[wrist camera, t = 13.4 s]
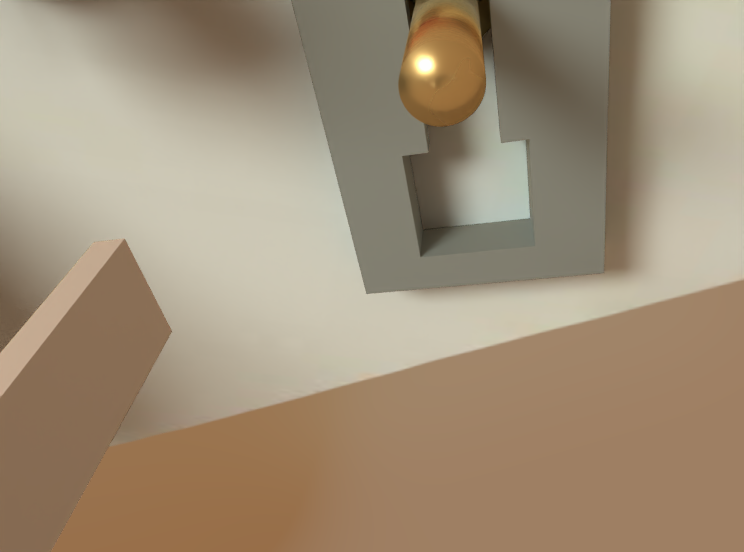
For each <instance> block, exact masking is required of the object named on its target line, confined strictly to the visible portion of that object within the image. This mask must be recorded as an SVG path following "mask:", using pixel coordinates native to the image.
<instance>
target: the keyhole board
mask: <svg viewBox="0 0 744 552" xmlns="http://www.w3.org/2000/svg"><path fill="white" fill-rule="evenodd" d="M291 1H292V5H293V8H294V12H295V16H296V20H297V24H298V28H299V32H300V36H301V40H302V44H303V48H304V51H305V55H306V59H307V63H308V67H309V71H310V75H311V79H312V83H313V87H314V90H315V94H316V98H317V102H318V106H319V110H320V114H321V118H322V122H323V126H324V130H325V133H326V137H327V141H328V145H329V149H330V153H331V157H332V161H333V165H334V169H335V173H336V176H337V180H338V184H339V188H340V192H341V196H342V200H343V204H344V208H345V212H346V215H347V219H348V223H349V227H350V231H351V235H352V239H353V243H354V247H355V251H356V255H357V258H358V262H359V266H360V270H361V274H362V278H363V282H364V286H365V290H366V294H370V293H382V292H393V291H405V290H416V289H428V288H439V287H450V286H462V285H473V284H485V283H496V282H508V281H519V280H531V279H542V278H554V277H565V276H577V275H588V274H600V273H604V249H605V209H606V169H607V128H608V88H609V47H610V7H611V0H489V7H490V19H491V31H492V43H493V56H494V68H495V80H496V92H497V104H498V116H499V128H500V137H501V143H505V142H512V141H520V140H526V151H527V169H528V186H529V204H530V219H521V220H511V221H502V222H493V223H483V224H474V225H465V226H455V227H446V228H437V229H427V230H423V228H422V222H421V216H420V211H419V205H418V199H417V193H416V188H415V182H414V176H413V171H412V165H411V159H410V155H414V154H422V153H428V151H429V134H428V128H427V124H425V123H423V122H420V121H419V120H417V119H416V118H414V117H413V116H412V115H411V114H410V113H409V112H408V111H407V110H406V108H405V107H404V105H403V103H402V101H401V98H400V95H399V89H398V80H399V74H400V70H401V65H402V61H403V56H404V52H405V47H406V43H407V38H408V34H409V30H410V25H411V17H410V11H409V4H408V0H291Z"/></svg>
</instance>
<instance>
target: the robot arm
mask: <svg viewBox="0 0 744 552" xmlns="http://www.w3.org/2000/svg"><path fill="white" fill-rule="evenodd" d="M171 332H172V331H171V329H170V327H169V325H168V323H167V321H166V319H165V317H164V315H163V313H162V311H161V309H160V307H159V305H158V303H157V301H156V299H155V297H154V295H153V293H152V291H151V289H150V287H149V286H148V284H147V282H146V280H145V278H144V276H143V274H142V272H141V270H140V268H139V266H138V264H137V262H136V260H135V258H134V256H133V254H132V252H131V250H130V248H129V246H128V244H127V242H126V240H125V239H116V240H108V241H99V242H94V243H93V244H92V245H91V246H90V247H89V249H88V250H87V251H86V252H85V253H84V255H83V256H82V257H81V258H80V259H79V260H78V262H77V263H76V264H75V265H74V266H73V268H72V269H71V270H70V271H69V272H68V273H67V275H66V276H65V277H64V278H63V279H62V281H61V282H60V283H59V284H58V285H57V286H56V288H55V289H54V290H53V291H52V292H51V294H50V295H49V296H48V297H47V298H46V299H45V301H44V302H43V303H42V304H41V305H40V307H39V308H38V309H37V310H36V311H35V312H34V314H33V315H32V316H31V317H30V318H29V320H28V321H27V322H26V323H25V324H24V325H23V327H22V328H21V329H20V330H19V331H18V333H17V334H16V335H15V336H14V337H13V338H12V340H11V341H10V342H9V343H8V344H7V346H6V347H5V348H4V349H3V350H2V351H1V353H0V552H51V550H52V548H53V547H54V545H55V543H56V541H57V539H58V537H59V536H60V534H61V532H62V530H63V528H64V527H65V525H66V523H67V521H68V519H69V518H70V516H71V514H72V512H73V510H74V509H75V507H76V505H77V503H78V501H79V499H80V498H81V496H82V494H83V492H84V490H85V488H86V487H87V485H88V483H89V481H90V479H91V478H92V476H93V474H94V472H95V470H96V469H97V466H98V465H99V463H100V461H101V459H102V458H103V456H104V454H105V452H106V450H107V449H108V447H109V445H110V443H111V441H112V439H113V438H114V436H115V434H116V432H117V430H118V429H119V427H120V425H121V423H122V421H123V419H124V418H125V416H126V414H127V412H128V410H129V409H130V407H131V405H132V403H133V401H134V399H135V398H136V396H137V394H138V392H139V390H140V389H141V387H142V385H143V383H144V381H145V379H146V378H147V376H148V374H149V372H150V370H151V369H152V367H153V365H154V363H155V361H156V359H157V358H158V356H159V354H160V352H161V350H162V349H163V347H164V345H165V343H166V341H167V339H168V338H169V336H170V334H171Z"/></svg>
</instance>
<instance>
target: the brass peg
mask: <svg viewBox="0 0 744 552" xmlns="http://www.w3.org/2000/svg"><path fill="white" fill-rule="evenodd" d="M408 4H409V11H410V17H411V25H410V30H409V34H408V38H407V43H406V47H405V52H404V56H403V61H402V65H401V70H400V74H399V80H398V89H399V95H400V98H401V101H402V103H403V105H404V107H405V108H406V110H407V111H408V112H409V113H410V114H411V115H412V116H413V117H414V118H416V119H417V120H419V121H420V122H423V123H425V124H428V125H431V126H440V127H443V126H450V125H454V124H457V123H459V122H462V121H463V120H465V119H467V118H468V117H469V116H470V115H472V114H473V113H474V112H475V111H476V109H477V108H478V107H479V105H480V103H481V101H482V99H483V97H484V93H485V88H486V75H485V66H484V56H483V46H482V36H483V35H484V34H485V33H486V32H487V31H488V30H489V29H490V27H491V19H490V7H489V0H408Z"/></svg>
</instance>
